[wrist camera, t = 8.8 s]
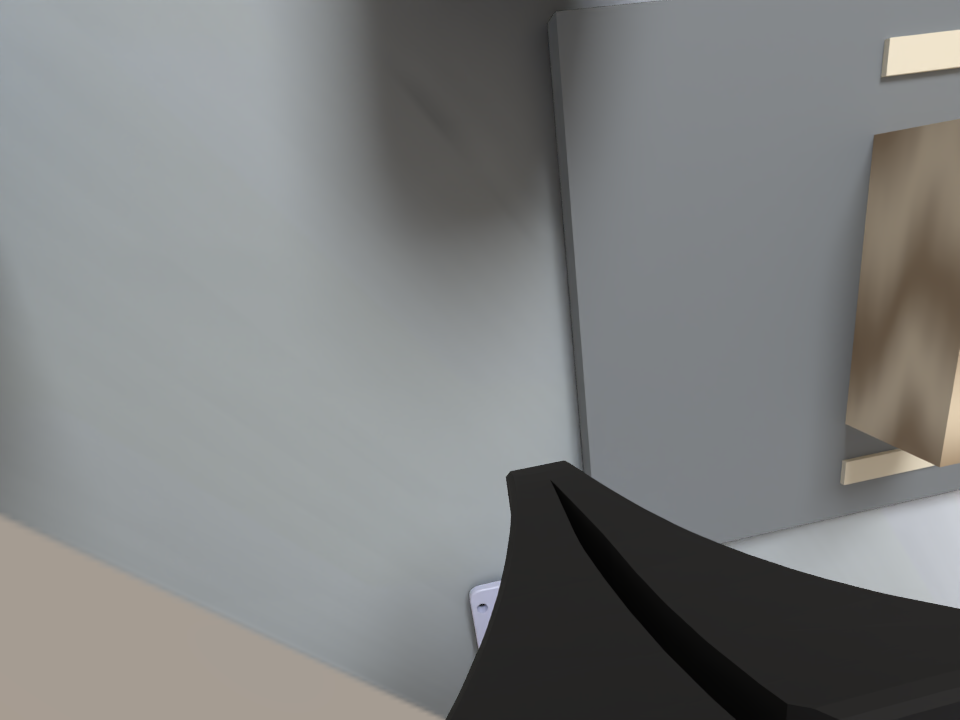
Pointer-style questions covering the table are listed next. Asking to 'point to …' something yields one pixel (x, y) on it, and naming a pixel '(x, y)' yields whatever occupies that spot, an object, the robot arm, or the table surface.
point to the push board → (734, 245)
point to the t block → (910, 296)
